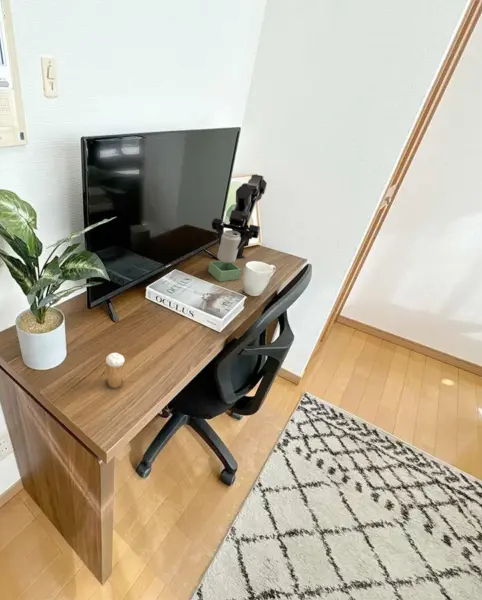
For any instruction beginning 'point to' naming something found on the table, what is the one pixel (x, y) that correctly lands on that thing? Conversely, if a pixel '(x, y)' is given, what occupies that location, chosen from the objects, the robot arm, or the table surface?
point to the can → (229, 246)
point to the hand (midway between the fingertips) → (228, 246)
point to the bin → (224, 271)
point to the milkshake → (114, 369)
